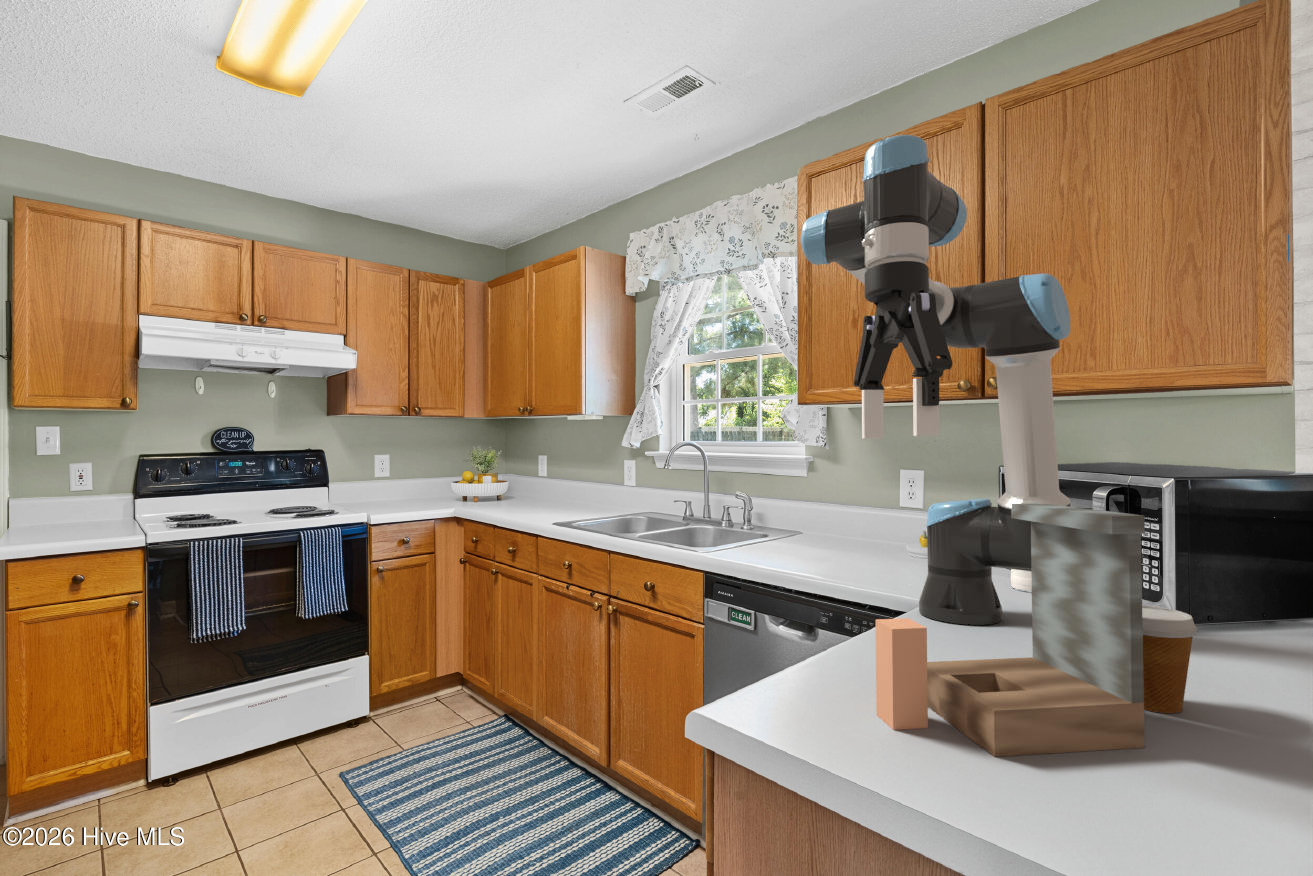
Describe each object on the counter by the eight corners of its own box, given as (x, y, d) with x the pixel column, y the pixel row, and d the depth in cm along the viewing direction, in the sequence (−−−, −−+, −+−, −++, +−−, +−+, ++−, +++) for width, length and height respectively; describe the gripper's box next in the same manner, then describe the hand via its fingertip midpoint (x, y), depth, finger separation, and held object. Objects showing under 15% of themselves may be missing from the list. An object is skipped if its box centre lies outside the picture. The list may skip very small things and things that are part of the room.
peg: (876, 714, 81) (875, 619, 82) (909, 713, 82) (908, 618, 82) (893, 730, 77) (892, 629, 77) (927, 728, 78) (926, 627, 78)
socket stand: (916, 698, 87) (914, 504, 87) (1040, 692, 89) (1038, 503, 89) (997, 759, 70) (994, 518, 70) (1148, 749, 72) (1144, 515, 72)
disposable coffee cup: (1100, 704, 84) (1098, 612, 85) (1115, 685, 91) (1114, 600, 91) (1194, 726, 78) (1192, 626, 78) (1203, 704, 84) (1201, 612, 85)
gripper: (829, 291, 92) (830, 439, 92) (919, 231, 68) (921, 434, 67) (879, 292, 93) (880, 439, 93) (986, 234, 68) (988, 434, 68)
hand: (897, 437), depth 80 cm, fingers open, 13 cm apart
